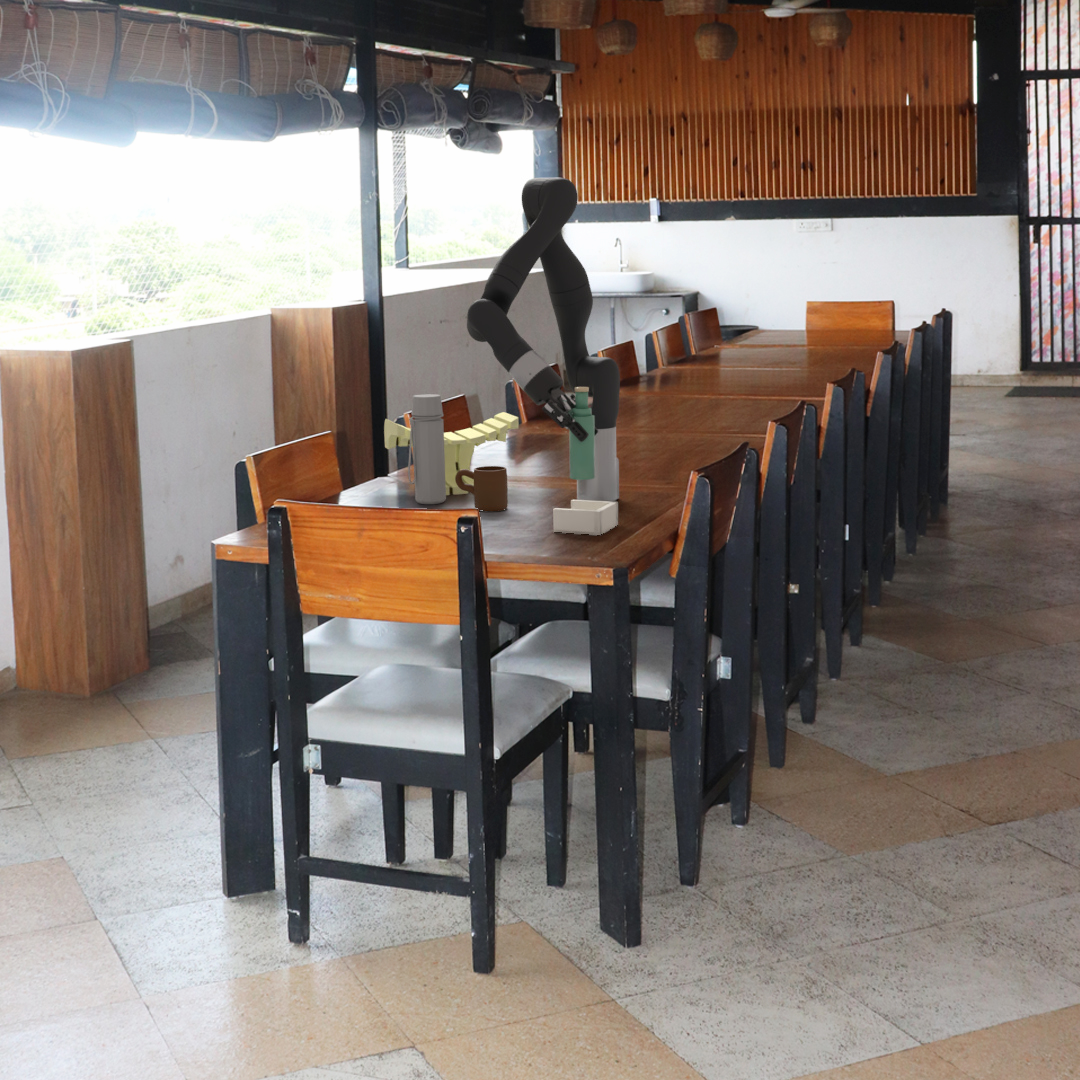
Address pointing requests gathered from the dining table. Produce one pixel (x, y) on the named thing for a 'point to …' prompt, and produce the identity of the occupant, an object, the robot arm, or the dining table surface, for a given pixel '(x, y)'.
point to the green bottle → (585, 450)
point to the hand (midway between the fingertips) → (590, 436)
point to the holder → (586, 517)
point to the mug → (486, 487)
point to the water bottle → (427, 449)
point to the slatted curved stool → (457, 444)
